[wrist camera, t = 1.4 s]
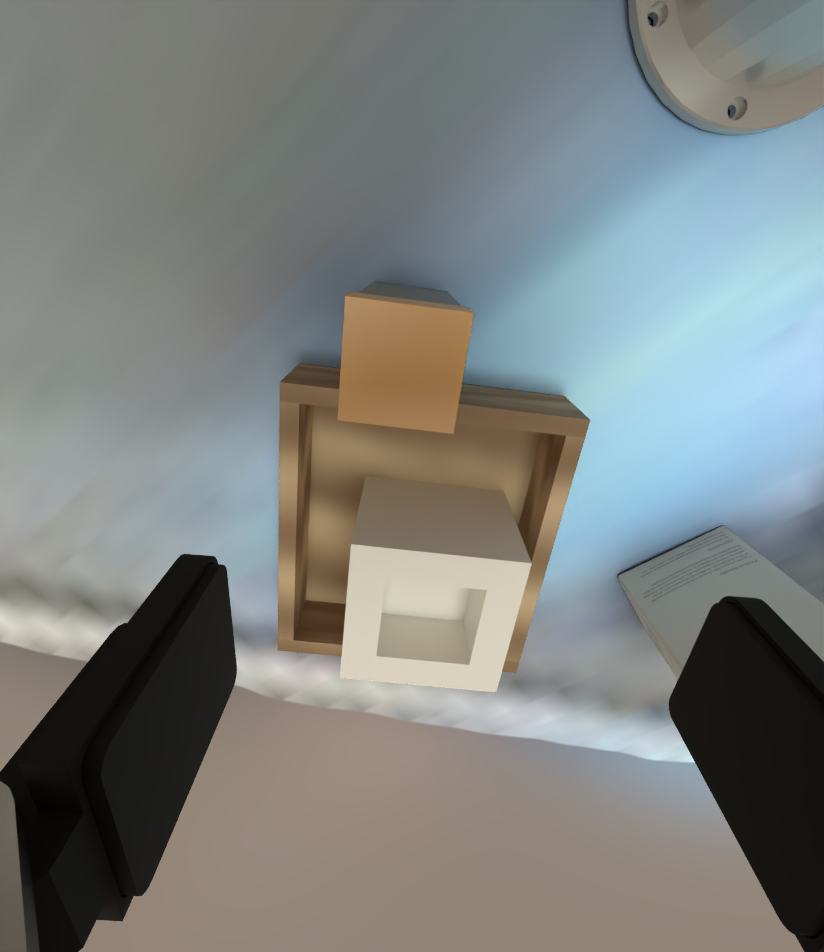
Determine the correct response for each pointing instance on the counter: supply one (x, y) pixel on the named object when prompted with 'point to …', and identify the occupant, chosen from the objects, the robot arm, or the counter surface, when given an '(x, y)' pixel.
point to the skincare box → (713, 593)
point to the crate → (415, 459)
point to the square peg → (403, 357)
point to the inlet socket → (432, 585)
